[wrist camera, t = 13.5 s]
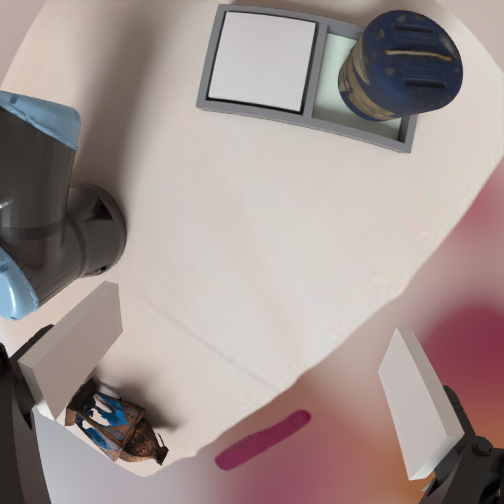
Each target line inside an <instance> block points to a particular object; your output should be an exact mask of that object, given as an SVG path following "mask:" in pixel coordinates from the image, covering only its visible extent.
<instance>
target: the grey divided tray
mask: <svg viewBox="0 0 504 504" xmlns="http://www.w3.org/2000/svg"><path fill="white" fill-rule="evenodd" d="M365 29H366V27H363V26H359V25H356V24H352V23H348V22H344V21H340V20H336V19H332V18H327V17H323V16H318V15H313V14H308V13H302V12H296V11H290V10H283V9H276V8H267V7H258V6H247V5H232V4H219V5H218V9H217V12H216V16H215V20H214V24H213V28H212V33H211V37H210V41H209V45H208V50H207V54H206V59H205V63H204V68H203V73H202V78H201V82H200V87H199V93H198V98H197V103H196V107H197V108H199V109H202V110H204V111H213V112H221V113H228V114H235V115H242V116H249V117H255V118H261V119H266V120H272V121H277V122H283V123H288V124H293V125H298V126H302V127H307V128H311V129H316V130H320V131H324V132H329V133H333V134H337V135H341V136H345V137H348V138H352V139H356V140H360V141H363V142H367V143H370V144H374V145H377V146H380V147H384V148H387V149H390V150H393V151H396V152H399V153H411V148H412V143H413V138H414V132H415V127H416V121H417V115H418V114H415V115H410V116H406V117H403V118H398V119H394V120H389V121H384V122H375V121H369V120H366V119H363V118H361V117H359V116H358V115H356V114H355V113H353V112H352V111H351V110H350V109H349V108H348V107H347V106H346V104H345V103H344V101H343V100H342V98H341V96H340V93H339V89H338V75H339V71H340V68H341V67H342V65H343V63H344V61H345V60H346V58H347V57H348V55H349V54H350V49H351V48H352V47H353V46H354V45H355V44H356V42H357V41H358V39H359V38H360V36H361V35H362V33H363V32H364V30H365Z"/></svg>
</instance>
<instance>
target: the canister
mask: <svg viewBox="0 0 504 504" xmlns="http://www.w3.org/2000/svg"><path fill="white" fill-rule="evenodd" d="M462 79H463V66H462V61H461V57H460V54H459V51H458V49H457V47H456V45H455V44H454V42H453V40H452V39H451V38H450V36H449V35H448V34H447V32H446V31H445V30H444V29H443V28H442V27H441V26H439V25H438V24H437V23H436V22H434V21H433V20H431V19H429V18H428V17H426V16H424V15H421V14H418V13H415V12H412V11H406V10H395V11H390V12H386V13H383V14H381V15H379V16H378V17H376V18H375V19H374V20H373V21H372V22H371V23H370V24H369V25H368V26H367V28H366V29H365V30H364V32H363V33H362V35H361V36H360V38H359V39H358V41H357V42H356V44H355V45H354V46H353V47H352V48H351V49H350V54H349V55H348V57H347V58H346V60H345V61H344V63H343V65H342V67H341V68H340V71H339V75H338V89H339V93H340V96H341V98H342V100H343V101H344V103H345V104H346V106H347V107H348V108H349V109H350V110H351V111H352V112H353V113H355V114H356V115H358V116H359V117H361V118H363V119H366V120H369V121H375V122H384V121H389V120H394V119H398V118H403V117H406V116H410V115H415V114H419V113H424V112H429V111H433V110H437V109H440V108H442V107H444V106H446V105H447V104H449V103H450V102H451V101H452V100H453V99H454V98H455V97H456V95H457V94H458V92H459V90H460V88H461V85H462Z"/></svg>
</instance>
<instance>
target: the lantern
mask: <svg viewBox="0 0 504 504" xmlns="http://www.w3.org/2000/svg"><path fill="white" fill-rule="evenodd" d="M94 393H96V394H98V395H99V396H100V397H101V398H102V399H104V400H105V401H106V402H108V404H109V405H110V406H111V407H112V408H113V410H114V411H115V412H116V413H114V412H113V413H111V412H110V413H108V412H106V411H104V410H102V409H100V408H99V407H97V406H96V405H95V403H96V401H95V399H94V398H93V396H92V395H93V394H94ZM92 408H94V409H96V410H97V411H98V413H99V414H101V415H102V416H101V417H102V418H103V419H106V420H107V421H108V423H109V424H111V425H108V426H105V425H102V424H99V423H98V422H96V421H94V420H93V419H91V418H90V417H89V416H91V417H93V412H94V411H91V409H92ZM144 413H145V410H144V409H142V408H139V407H136V406H134V405H131V404H129V403H125V402H122V395H121V396H120V399H115V398H113V397H110V396H108V395H106V394H103V393H101V392H99V391H97V390H95V388H94V385H93V380H92V378H91V379H89V380H88V381H87V382H86V383H85V384H83V385H81V386H80V387H79V389H78V390H77V391H76V393H75V394H74V395H73V397H72V398H71V400H70V402H69V404H68V406H67V407H66V417H65V426H71V425H74V423H76V424H77V425H78V427H79V428H80V429H81V430H82V431H83V432H84V433H85V434H86V435H87V436H88V437H89V438H90V439H91V440H92V441H93V442H94V443H95V444H96V445H97V446H98V447H99V448H100V449H101V450H102V451H103V452H104V453H105V454H106V455H107V456H108V457H109V458H110V459H111V460H113V461H114V462H115V461H116V460H117V458H120V459H122V460H124V461H127V462H138V461H143V460H147V459H155V460H156V462H157V463H158V464H160V465H161V466H162V463H163V461H164V459H165V457H166V455H167V453H168V451H169V449H167V447H166V446H165V445H164V443H163V440H162V438H161V436H160V435H159V434H158V435H159V437H160V439H161V441H162V444H163V447H160V446H159V443H158V440H157V438H156V436H155V433H154V431H153V429H152V427H151V426H150V425H149V423H148V422H146V421H145V420H144V419H142V418H141V417H142V416H143V414H144ZM84 420H86V421H87V422H88V423H89V424H90V425H92V426H93V428H94V429H95V430H94V429H93V428H88V429H85V428H83V426H82V425H83V424H82V421H84ZM65 426H64V427H65Z"/></svg>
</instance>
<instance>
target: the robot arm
mask: <svg viewBox="0 0 504 504" xmlns="http://www.w3.org/2000/svg"><path fill="white" fill-rule="evenodd" d="M80 124H81V119H80V115H79V113H78V112H77V111H76V110H75V109H74V108H72V107H69V106H65V105H62V104H58V103H54V102H50V101H46V100H42V99H38V98H34V97H29V96H25V95H20V94H15V93H10V92H6V91H0V316H1V317H3V318H5V319H8V320H13V321H15V320H20V319H22V318H23V317H25V316H26V315H28V314H29V313H31V312H34V311H36V310H37V309H38V308H39V307H41V306H42V305H43V304H44V303H46V302H47V301H48V300H49V299H51V298H52V297H53V296H55V295H56V294H57V293H59V292H60V291H61V290H62V289H64V288H65V287H66V286H68V285H69V284H70V283H72V282H73V281H74V280H76V279H78V278H84V277H91V276H97V275H100V274H102V273H104V272H106V271H108V270H109V269H110V268H112V267H113V266H114V265H115V264H116V263H117V262H118V261H119V259H120V258H121V256H122V254H123V251H124V247H125V242H126V230H125V224H124V220H123V217H122V214H121V212H120V209H119V207H118V206H117V204H116V203H115V201H114V200H113V199H112V197H111V196H110V195H109V194H108V193H106V192H105V191H104V190H102V189H101V188H99V187H97V186H94V185H88V184H84V185H79V186H75V187H71V188H70V181H71V175H72V170H73V164H74V159H75V154H76V151H77V150H78V147H77V141H78V135H79V129H80ZM122 332H123V330H122V321H121V312H120V301H119V289H118V284H116V283H111V282H107V281H104V282H103V283H102V284H101V285H100V286H98V287H97V288H96V289H95V290H94V291H93V292H91V293H90V294H89V295H88V296H87V297H86V298H85V299H83V300H82V301H81V302H80V303H79V304H78V305H77V306H76V307H74V308H73V309H72V310H71V311H70V312H69V313H68V314H67V315H65V316H64V317H63V318H62V319H61V320H60V321H59V322H58V323H57V324H56V325H52V324H50V325H48V326H46V327H44V328H42V329H40V330H39V331H38V332H37V333H36V334H35V335H34V337H31V338H30V339H29V340H28V342H26V343H25V344H24V345H23V346H22V347H21V348H20V349H19V350H18V351H16V352H15V353H14V354H13V355H12V356H11V357H10V358H9V357H8V354H7V352H6V349H5V346H4V345H3V344H2V343H0V504H51V501H50V497H49V493H48V489H47V486H46V481H45V477H44V473H43V469H42V464H41V459H40V453H39V448H38V442H37V436H36V429H35V422H34V414H33V411H32V408H33V406H34V405H35V404H36V406H37V408H38V410H39V412H40V413H41V414H42V415H44V416H46V417H48V418H50V419H52V420H54V421H55V420H56V419H57V417H58V416H59V415H60V413H61V412H62V411H63V409H64V408H65V406H66V405H67V404H68V402H69V401H70V400H71V398H72V397H73V395H74V394H75V393H76V391H77V390H78V389H79V387H80V386H81V385H82V383H83V382H84V381H85V379H86V378H87V377H88V375H89V374H90V373H91V371H92V370H93V369H94V368H95V366H96V365H97V364H98V362H99V361H100V360H101V358H102V357H103V356H104V355H105V353H106V352H107V351H108V349H109V348H110V347H111V346H112V344H113V343H114V342H115V341H116V339H117V338H118V337H119V335H120V334H121V333H122ZM378 373H379V376H380V379H381V382H382V385H383V388H384V392H385V395H386V398H387V401H388V405H389V408H390V411H391V415H392V418H393V422H394V425H395V428H396V432H397V435H398V439H399V443H400V447H401V450H402V454H403V458H404V462H405V466H406V470H407V474H408V478H409V480H415V479H421V478H426V477H427V476H428V475H429V474H430V473H431V472H432V471H433V470H434V471H435V475H436V477H435V478H434V479H432V480H431V482H429V483H428V484H427V485H426V486H425V487H424V488H423V490H422V491H425V490H426V489H427V488H428V489H427V490H426V492H425V494H424V496H423V497H422V499H421V501H420V503H419V504H504V449H500V448H493V446H492V444H491V443H490V442H489V441H488V440H487V439H486V438H484V437H481V436H476V434H475V432H474V430H473V428H472V426H471V424H470V421H469V419H468V417H467V415H466V413H465V412H464V411H463V407H462V405H461V404H460V401H459V399H458V398H457V395H456V394H455V393H454V392H453V391H452V390H451V389H450V388H449V387H448V386H442V385H441V383H440V381H439V379H438V377H437V375H436V373H435V371H434V369H433V368H432V366H431V364H430V362H429V360H428V358H427V356H426V355H425V353H424V351H423V349H422V347H421V345H420V344H419V342H418V340H417V338H416V337H415V335H414V333H413V331H412V330H411V328H409V327H396V330H395V332H394V334H393V337H392V340H391V342H390V344H389V347H388V350H387V352H386V354H385V356H384V359H383V361H382V364H381V366H380V368H379V370H378ZM499 490H500V496H499Z"/></svg>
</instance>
